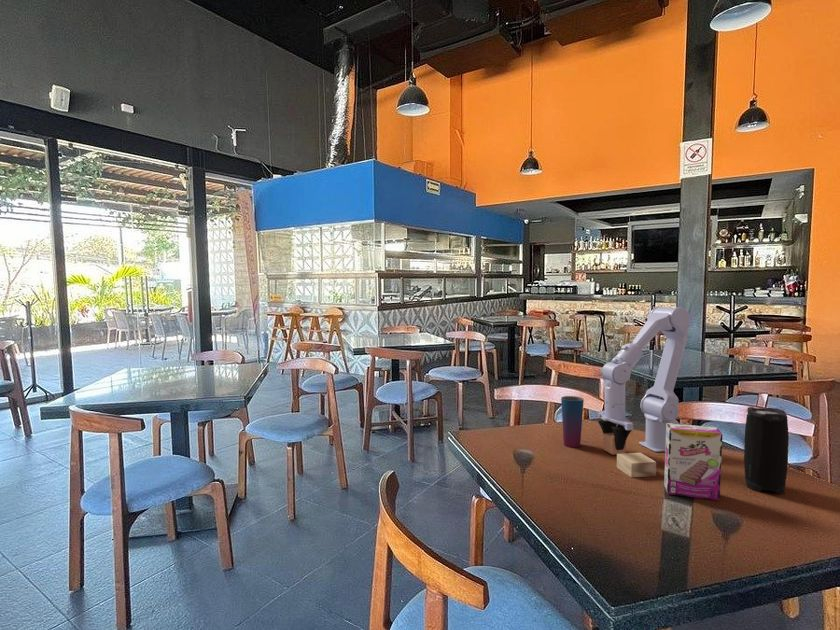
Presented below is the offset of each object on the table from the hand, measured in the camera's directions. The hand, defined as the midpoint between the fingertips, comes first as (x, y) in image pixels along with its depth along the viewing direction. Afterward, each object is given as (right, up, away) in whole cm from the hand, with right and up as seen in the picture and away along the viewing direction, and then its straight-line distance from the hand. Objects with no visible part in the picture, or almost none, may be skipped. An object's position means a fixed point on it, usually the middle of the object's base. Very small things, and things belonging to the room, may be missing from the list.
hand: (614, 446), depth 137 cm
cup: (-11, -2, +7) cm, 13 cm away
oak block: (0, -3, -14) cm, 14 cm away
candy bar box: (+6, -3, -28) cm, 29 cm away
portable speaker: (+26, -3, -25) cm, 37 cm away
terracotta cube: (0, -1, 0) cm, 1 cm away
